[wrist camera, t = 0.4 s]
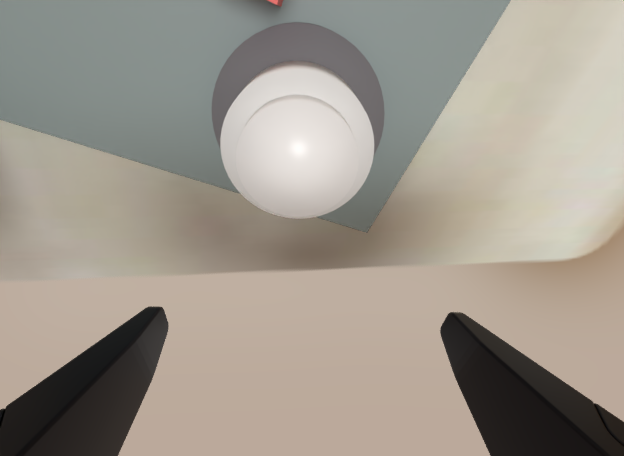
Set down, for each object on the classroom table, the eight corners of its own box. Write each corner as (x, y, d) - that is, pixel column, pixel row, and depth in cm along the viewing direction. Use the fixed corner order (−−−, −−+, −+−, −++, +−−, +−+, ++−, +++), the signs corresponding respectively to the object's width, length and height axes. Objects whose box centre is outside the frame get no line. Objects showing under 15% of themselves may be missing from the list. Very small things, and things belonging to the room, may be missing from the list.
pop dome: (220, 170, 15) (201, 206, 12) (251, 34, 12) (234, 41, 9) (332, 206, 17) (338, 246, 14) (388, 94, 13) (411, 117, 11)
